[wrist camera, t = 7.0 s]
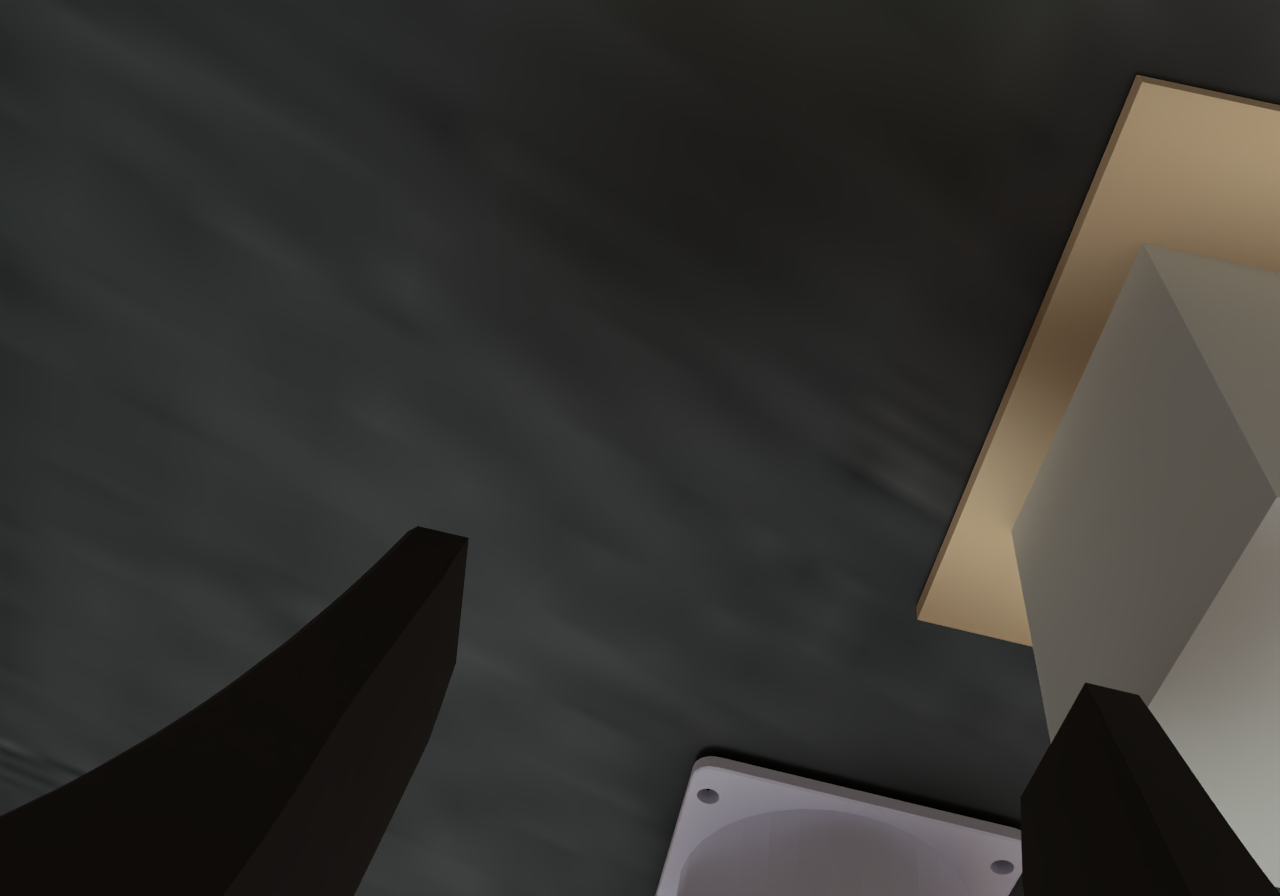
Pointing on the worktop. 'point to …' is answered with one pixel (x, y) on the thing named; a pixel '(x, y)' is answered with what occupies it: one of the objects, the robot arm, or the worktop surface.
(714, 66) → the worktop surface
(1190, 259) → the slab
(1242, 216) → the board
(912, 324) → the worktop surface
